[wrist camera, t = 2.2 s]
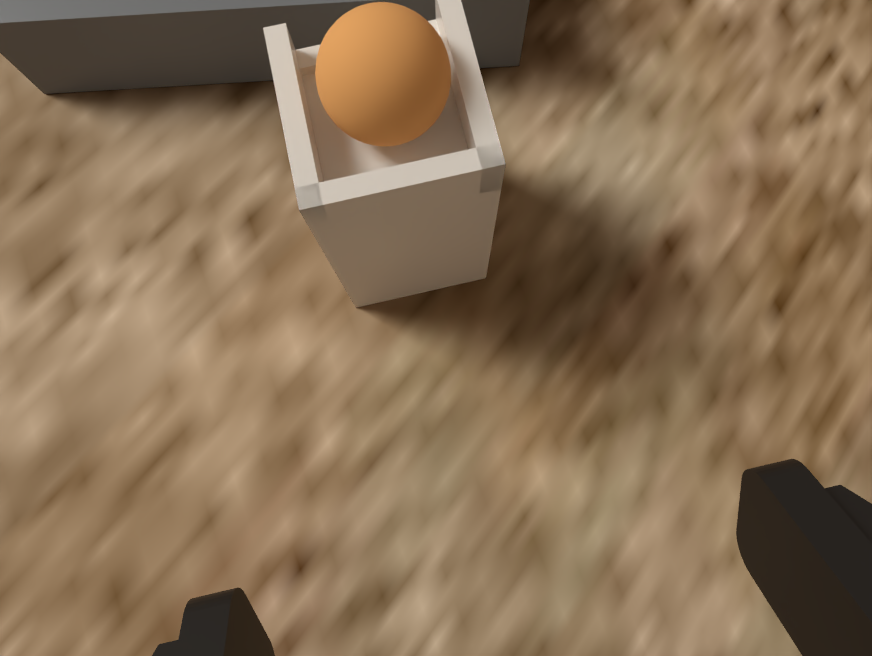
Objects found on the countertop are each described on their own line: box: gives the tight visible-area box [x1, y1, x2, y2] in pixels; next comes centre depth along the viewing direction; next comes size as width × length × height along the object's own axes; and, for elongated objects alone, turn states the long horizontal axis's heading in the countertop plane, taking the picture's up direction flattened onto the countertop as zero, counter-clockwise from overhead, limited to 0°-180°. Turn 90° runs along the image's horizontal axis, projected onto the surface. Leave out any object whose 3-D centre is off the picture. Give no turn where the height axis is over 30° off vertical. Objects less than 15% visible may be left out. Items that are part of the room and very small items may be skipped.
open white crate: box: [263, 0, 505, 308], centre depth 22 cm, size 5×5×10 cm
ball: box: [315, 2, 451, 147], centre depth 17 cm, size 3×3×3 cm
